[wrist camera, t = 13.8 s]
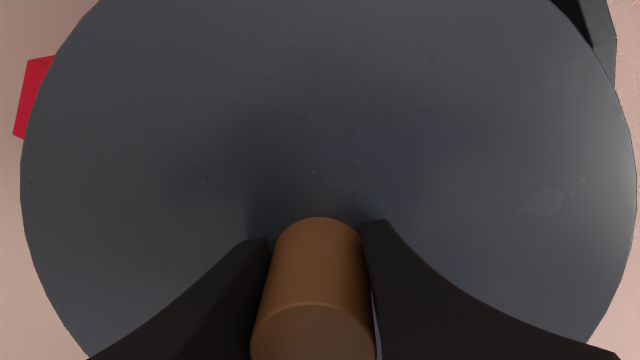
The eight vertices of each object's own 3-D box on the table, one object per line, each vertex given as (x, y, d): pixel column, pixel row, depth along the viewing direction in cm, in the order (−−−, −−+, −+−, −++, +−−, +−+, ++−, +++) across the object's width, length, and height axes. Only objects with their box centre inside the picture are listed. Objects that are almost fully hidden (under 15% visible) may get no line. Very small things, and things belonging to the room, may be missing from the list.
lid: (600, 407, 14) (707, 573, 10) (153, 452, 16) (88, 611, 12) (629, -159, 9) (889, -300, 5) (-61, 2, 10) (-325, 4, 6)
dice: (74, 50, 18) (27, 59, 15) (144, 82, 19) (110, 97, 16) (59, 115, 19) (11, 134, 17) (125, 144, 20) (89, 168, 17)
